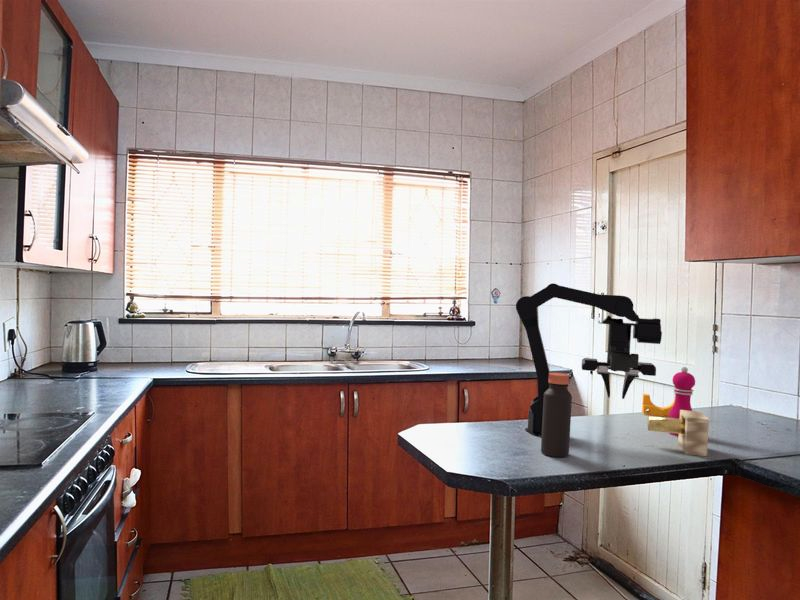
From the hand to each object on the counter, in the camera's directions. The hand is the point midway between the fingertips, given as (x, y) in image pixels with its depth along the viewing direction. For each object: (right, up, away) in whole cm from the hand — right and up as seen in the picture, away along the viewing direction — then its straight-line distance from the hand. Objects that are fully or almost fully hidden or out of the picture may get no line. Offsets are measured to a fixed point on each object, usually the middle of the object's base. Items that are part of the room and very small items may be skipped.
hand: (615, 397), depth 158 cm
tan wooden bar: (+14, -9, -4) cm, 17 cm away
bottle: (-21, -12, -14) cm, 28 cm away
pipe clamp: (+30, -13, +37) cm, 49 cm away
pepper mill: (+23, -13, +12) cm, 29 cm away
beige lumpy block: (+18, -13, -5) cm, 23 cm away
